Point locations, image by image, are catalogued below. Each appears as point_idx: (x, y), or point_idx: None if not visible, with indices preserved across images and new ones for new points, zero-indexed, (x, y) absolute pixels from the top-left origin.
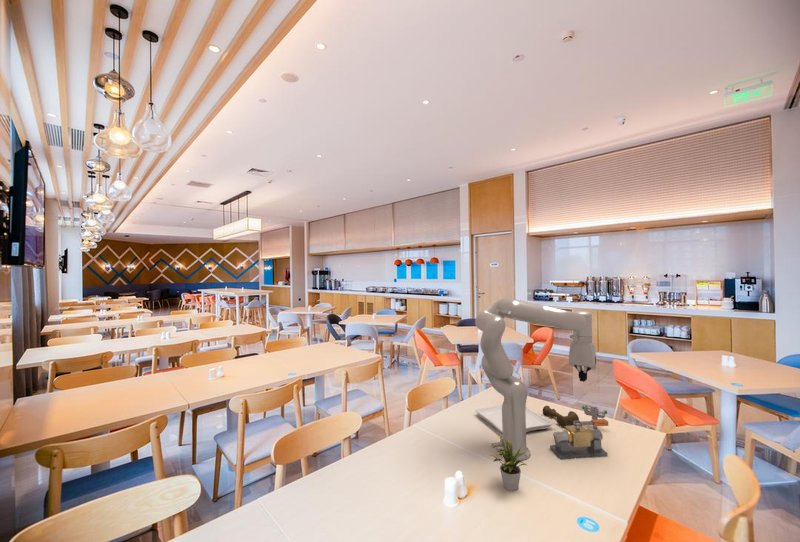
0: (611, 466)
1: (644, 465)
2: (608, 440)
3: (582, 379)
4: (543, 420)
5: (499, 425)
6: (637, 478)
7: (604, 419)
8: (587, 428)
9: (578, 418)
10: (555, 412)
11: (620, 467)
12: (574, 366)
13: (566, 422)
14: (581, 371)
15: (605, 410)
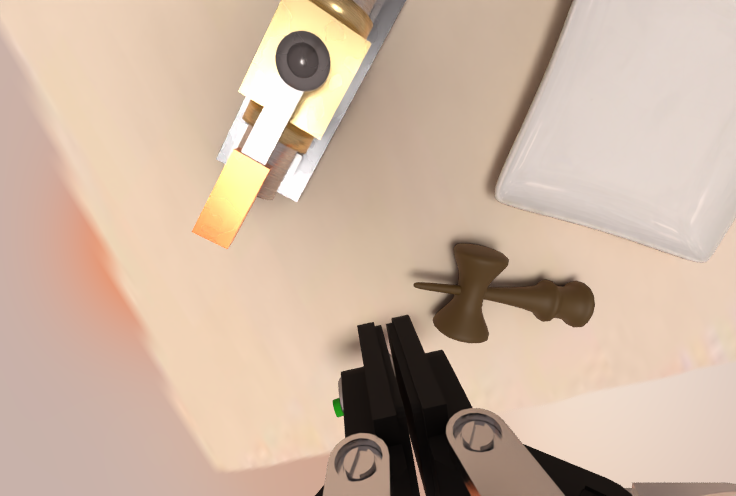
0: (162, 87)
1: (101, 209)
2: (292, 288)
3: (375, 336)
4: (543, 203)
5: (683, 3)
6: (48, 79)
7: (222, 240)
8: (283, 140)
9: (437, 327)
10: (534, 300)
11: (138, 111)
12: (619, 487)
13: (458, 258)
14: (431, 446)
15: (341, 411)
